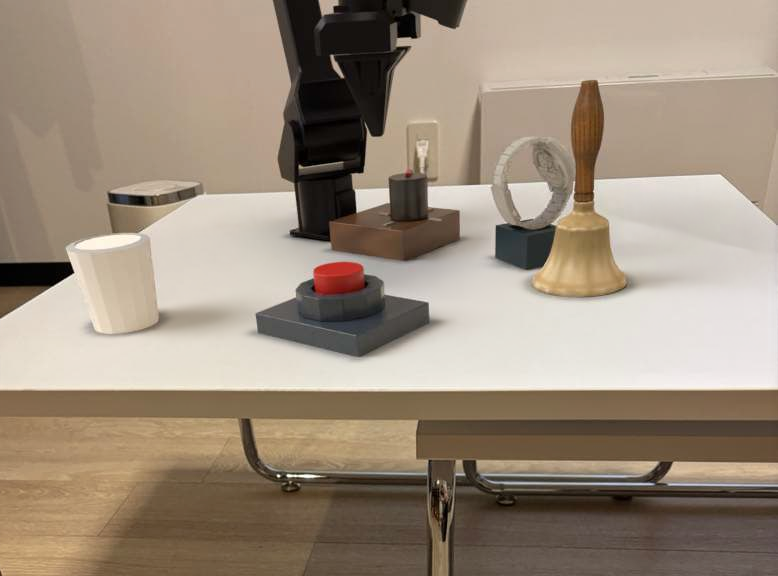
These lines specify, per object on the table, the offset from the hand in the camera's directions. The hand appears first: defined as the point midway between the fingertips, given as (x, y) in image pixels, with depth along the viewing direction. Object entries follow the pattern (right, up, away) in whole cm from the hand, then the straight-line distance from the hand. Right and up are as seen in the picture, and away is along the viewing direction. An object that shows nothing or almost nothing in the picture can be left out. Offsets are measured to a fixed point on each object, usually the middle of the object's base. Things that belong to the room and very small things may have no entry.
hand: (377, 136), depth 77 cm
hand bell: (+18, -15, -4) cm, 24 cm away
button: (-3, -18, -11) cm, 21 cm away
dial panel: (+2, -6, +12) cm, 14 cm away
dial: (+3, -4, +9) cm, 11 cm away
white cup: (-22, -19, -5) cm, 30 cm away
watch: (+15, -10, +4) cm, 19 cm away
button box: (-3, -21, -10) cm, 23 cm away
